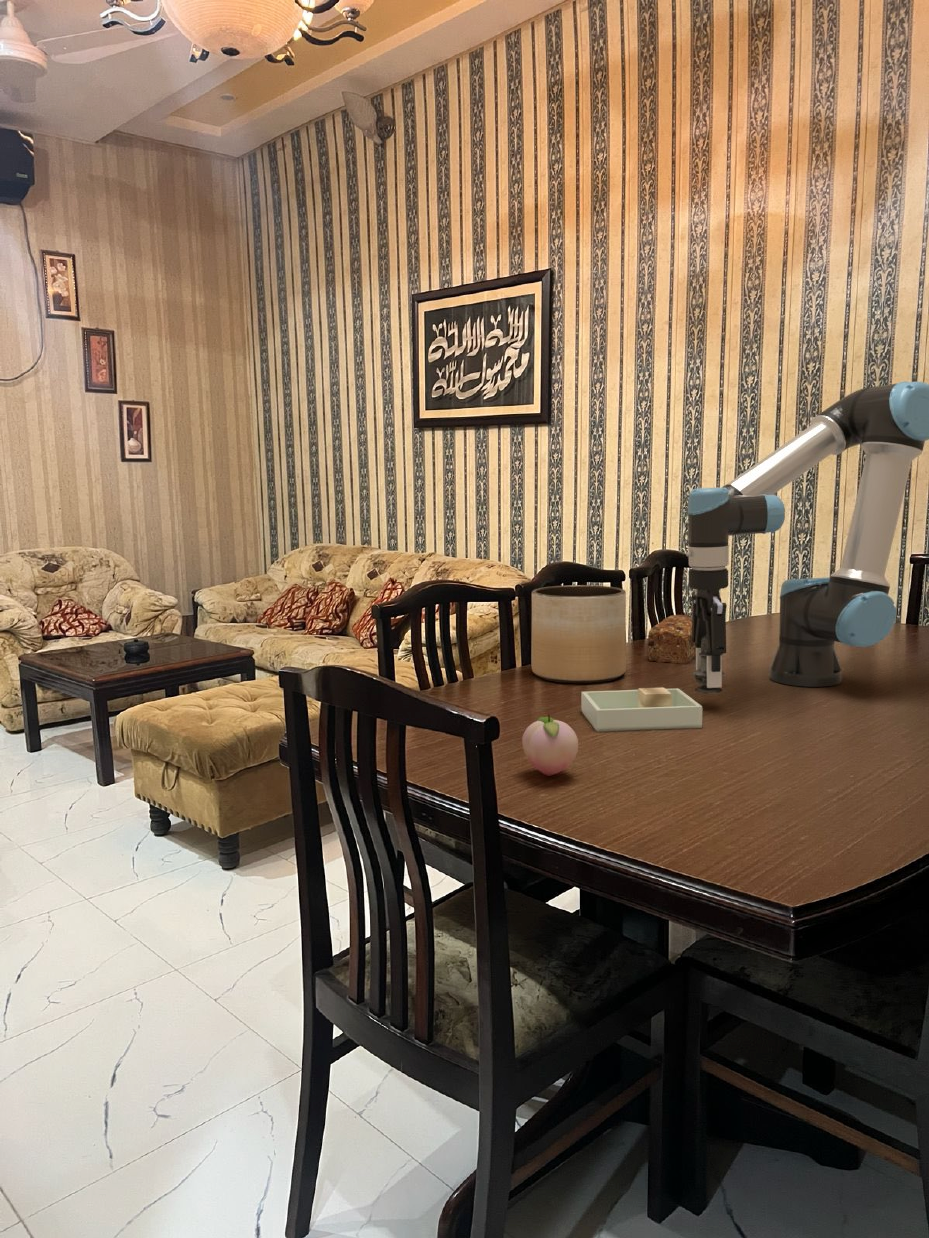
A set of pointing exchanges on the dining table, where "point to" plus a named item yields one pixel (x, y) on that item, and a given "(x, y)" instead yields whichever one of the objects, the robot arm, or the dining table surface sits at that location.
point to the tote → (638, 711)
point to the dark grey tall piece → (704, 670)
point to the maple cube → (653, 697)
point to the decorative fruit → (550, 745)
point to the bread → (672, 640)
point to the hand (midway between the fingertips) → (708, 683)
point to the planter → (578, 633)
